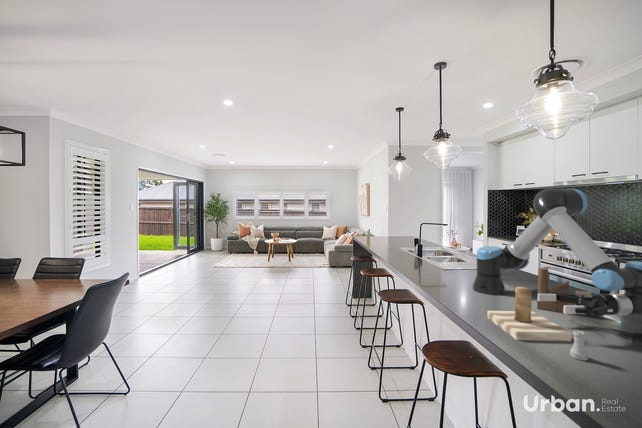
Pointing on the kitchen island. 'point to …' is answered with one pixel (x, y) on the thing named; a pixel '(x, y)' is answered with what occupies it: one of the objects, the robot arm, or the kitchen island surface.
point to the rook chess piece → (579, 346)
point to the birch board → (529, 327)
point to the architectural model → (585, 294)
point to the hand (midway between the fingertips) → (550, 303)
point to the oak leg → (523, 304)
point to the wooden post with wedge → (550, 292)
